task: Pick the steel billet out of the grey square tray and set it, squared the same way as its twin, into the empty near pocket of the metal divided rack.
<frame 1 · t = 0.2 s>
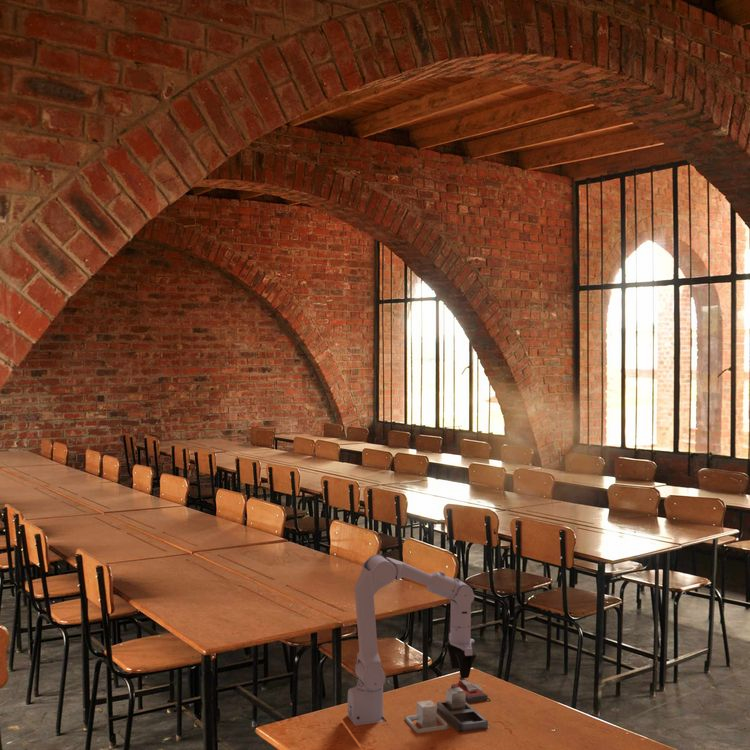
hand: (460, 672, 235), 10 cm above the table, tool pointing down, fingers open, 7 cm apart
loose billet: (426, 726, 222), point 1 cm above the table, touching grey square tray
seated billet: (455, 712, 229), point 1 cm above the table, touching metal divided rack
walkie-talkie: (466, 696, 246), on the table
grey square tray: (426, 728, 222), on the table
metal divided rack: (461, 722, 225), on the table
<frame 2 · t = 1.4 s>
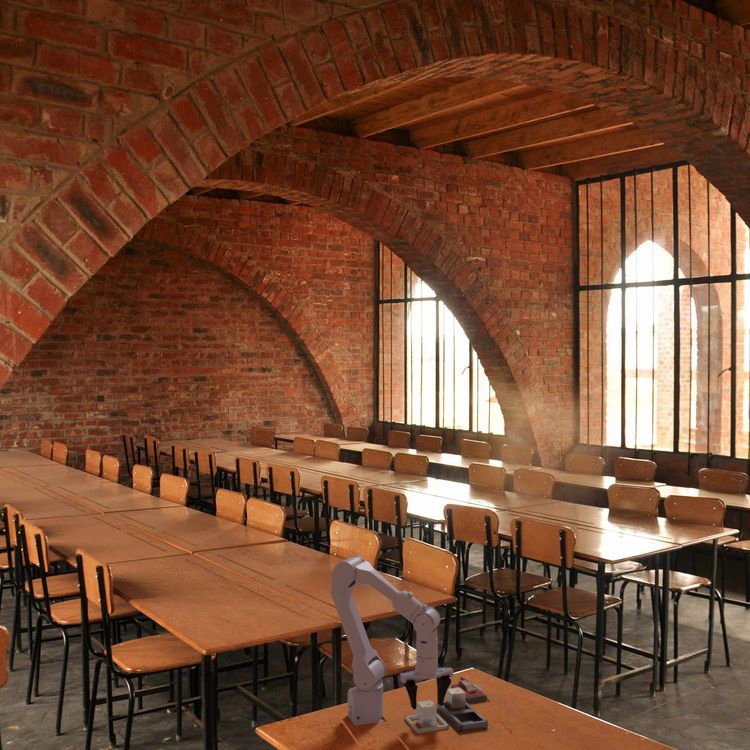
hand: (427, 706, 222), 6 cm above the table, tool pointing down, fingers open, 7 cm apart
nothing on the table moved.
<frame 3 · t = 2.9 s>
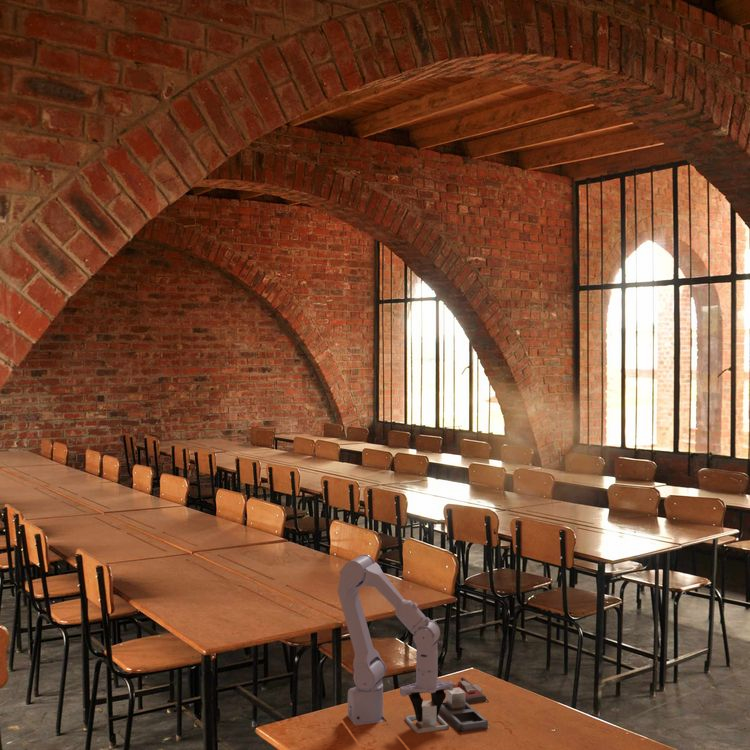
hand: (426, 719, 222), 2 cm above the table, tool pointing down, fingers closed on loose billet, 4 cm apart
loose billet: (426, 726, 222), point 1 cm above the table, touching gripper, grey square tray
everything else where it was.
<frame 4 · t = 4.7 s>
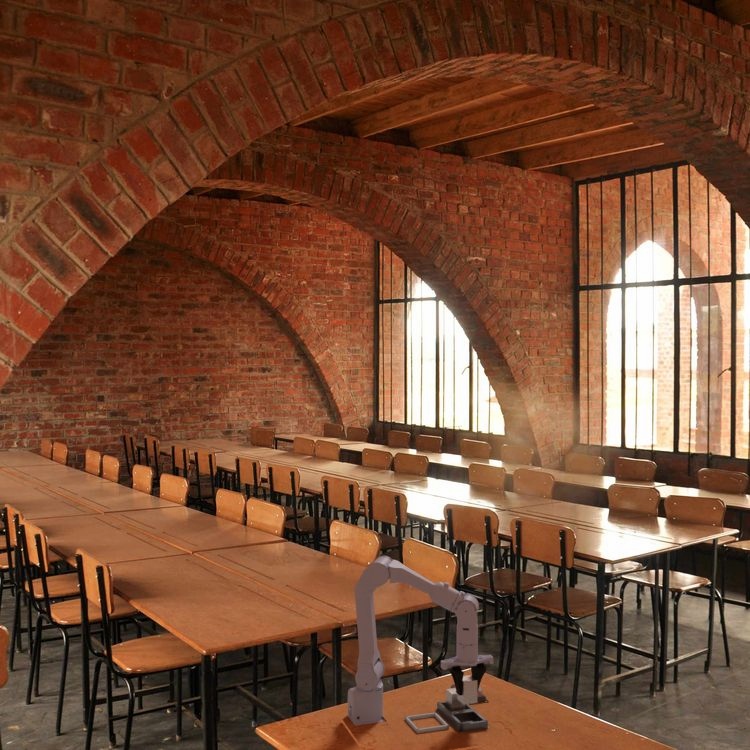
hand: (467, 693, 222), 9 cm above the table, tool pointing down, fingers closed on loose billet, 4 cm apart
loose billet: (467, 700, 222), point 7 cm above the table, touching gripper
everything else where it was.
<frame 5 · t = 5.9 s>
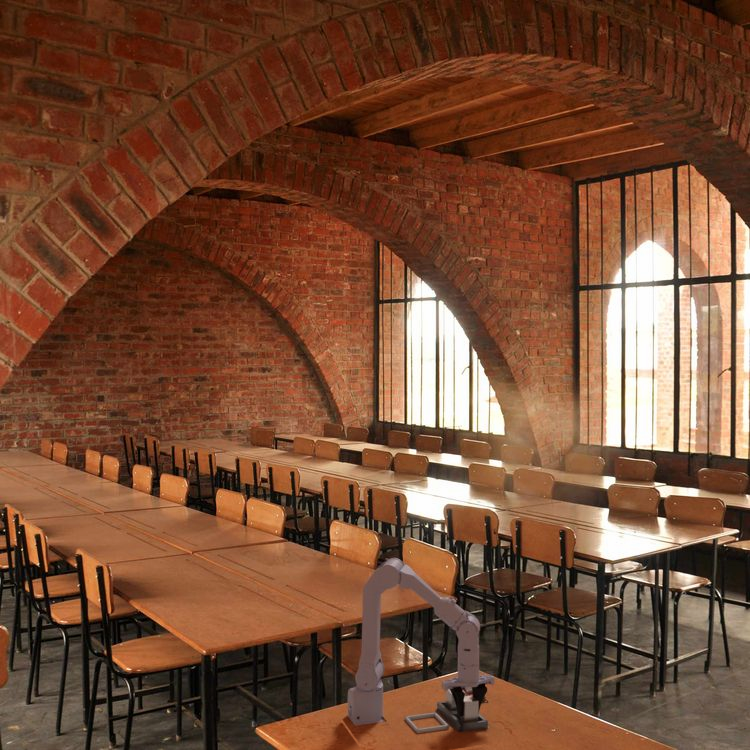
hand: (468, 713, 222), 4 cm above the table, tool pointing down, fingers closed on loose billet, 4 cm apart
loose billet: (468, 721, 222), point 2 cm above the table, touching gripper
everything else where it was.
when the fingers open (4 cm above the table, at t = 6.6 s): loose billet stays where it is, resting on metal divided rack.
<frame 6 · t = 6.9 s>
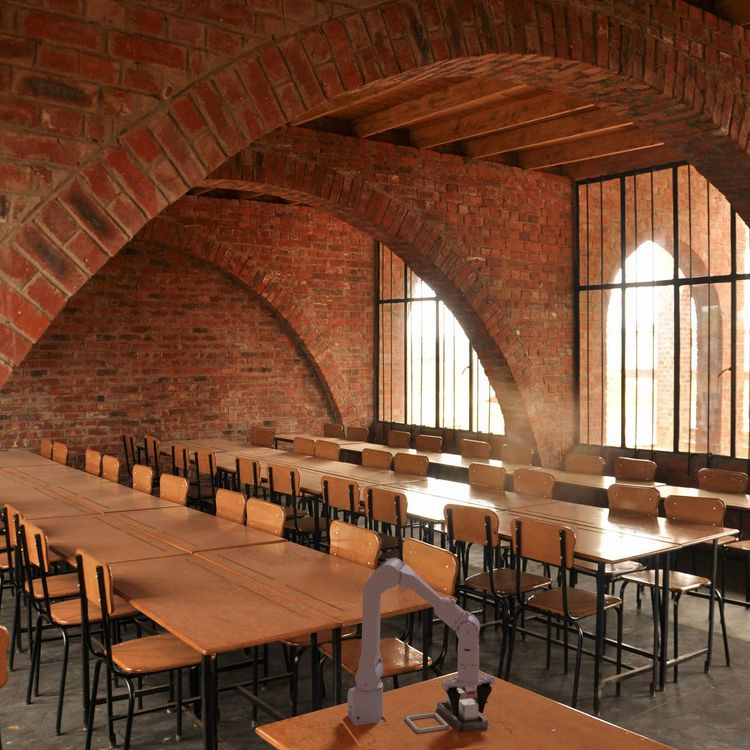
hand: (468, 713, 222), 4 cm above the table, tool pointing down, fingers open, 7 cm apart
loose billet: (468, 724, 222), point 1 cm above the table, touching metal divided rack
everything else where it was.
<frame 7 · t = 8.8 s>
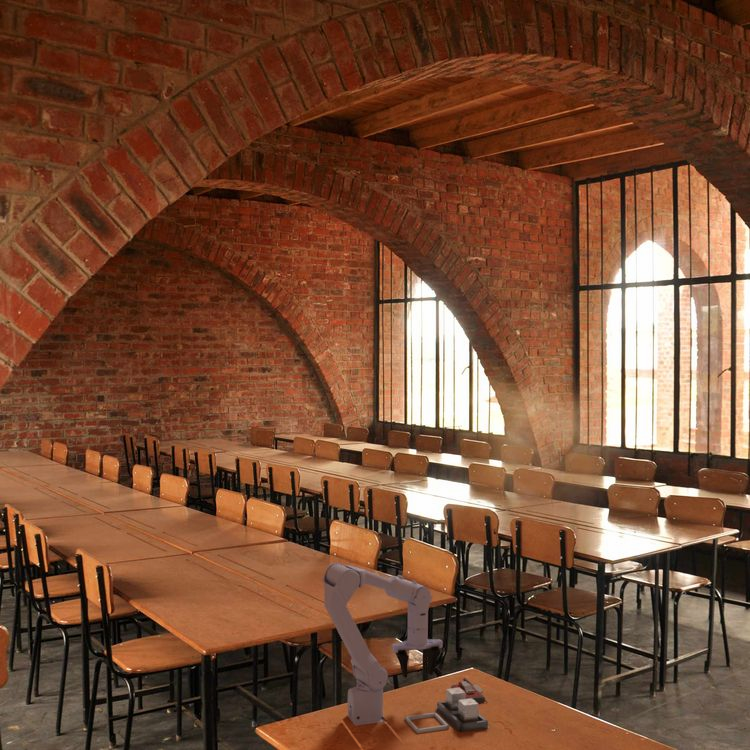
hand: (417, 675, 235), 9 cm above the table, tool pointing down, fingers open, 7 cm apart
nothing on the table moved.
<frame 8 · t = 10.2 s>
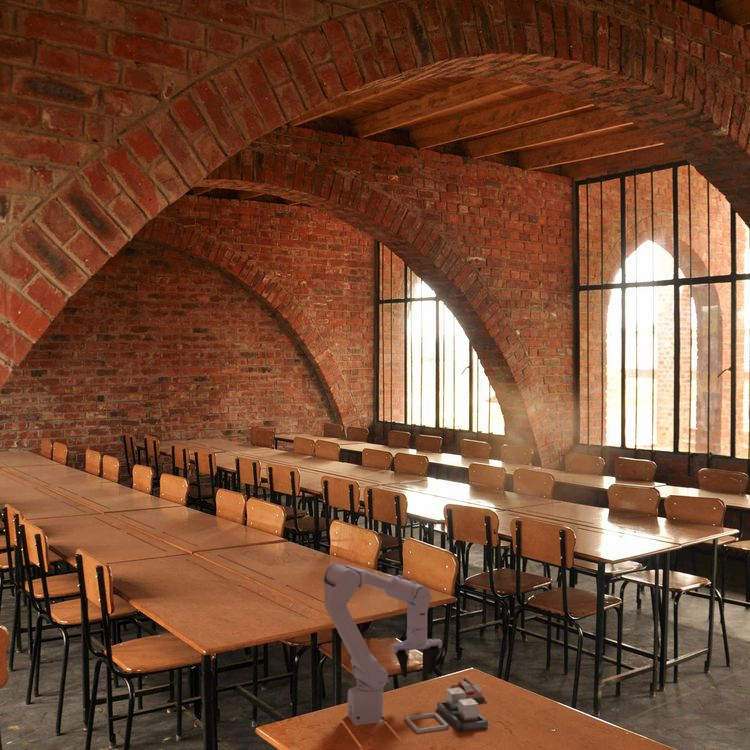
hand: (416, 674, 235), 9 cm above the table, tool pointing down, fingers open, 7 cm apart
at the end: loose billet 0.1 cm from the target spot on the metal divided rack, point 1.2 cm above the metal divided rack's base; loose billet tilted 0°; seated billet moved 0.0 cm from its start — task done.
